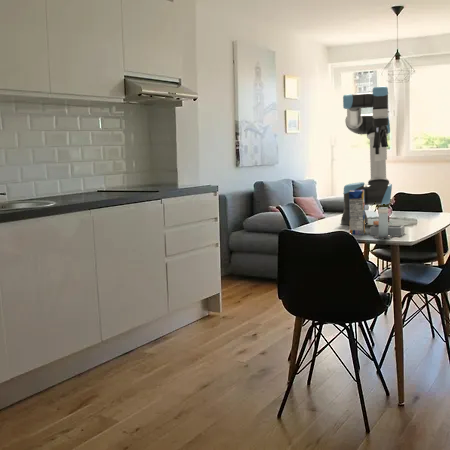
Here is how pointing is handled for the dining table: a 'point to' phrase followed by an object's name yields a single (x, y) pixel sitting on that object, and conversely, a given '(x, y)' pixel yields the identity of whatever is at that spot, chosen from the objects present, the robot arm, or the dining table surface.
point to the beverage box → (357, 212)
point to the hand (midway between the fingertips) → (380, 160)
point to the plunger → (376, 223)
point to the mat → (382, 237)
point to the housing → (389, 230)
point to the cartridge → (383, 221)
